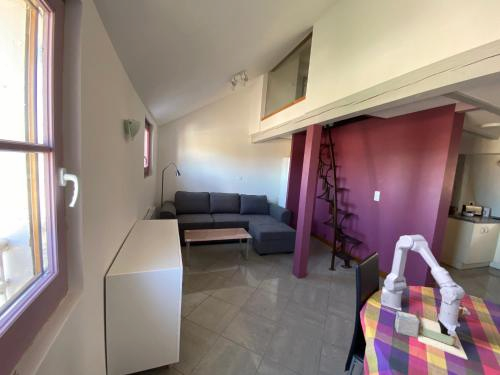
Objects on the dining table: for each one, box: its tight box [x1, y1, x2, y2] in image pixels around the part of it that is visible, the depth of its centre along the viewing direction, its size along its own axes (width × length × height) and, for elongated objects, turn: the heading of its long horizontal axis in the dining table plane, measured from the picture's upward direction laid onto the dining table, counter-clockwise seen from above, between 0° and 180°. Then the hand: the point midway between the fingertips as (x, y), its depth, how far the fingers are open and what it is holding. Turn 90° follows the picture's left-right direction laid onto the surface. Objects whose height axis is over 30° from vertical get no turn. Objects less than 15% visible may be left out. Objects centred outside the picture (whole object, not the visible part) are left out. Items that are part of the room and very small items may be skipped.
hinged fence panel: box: [418, 325, 456, 346], centre depth 96 cm, size 13×2×4 cm, turn 60°
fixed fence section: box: [414, 310, 421, 325], centre depth 104 cm, size 1×12×4 cm, turn 148°
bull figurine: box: [437, 305, 471, 323], centre depth 109 cm, size 4×13×8 cm, turn 78°
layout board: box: [417, 316, 468, 360], centre depth 99 cm, size 16×20×1 cm
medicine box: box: [394, 310, 419, 339], centre depth 100 cm, size 8×4×9 cm, turn 71°
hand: (444, 338), depth 95 cm, fingers closed
